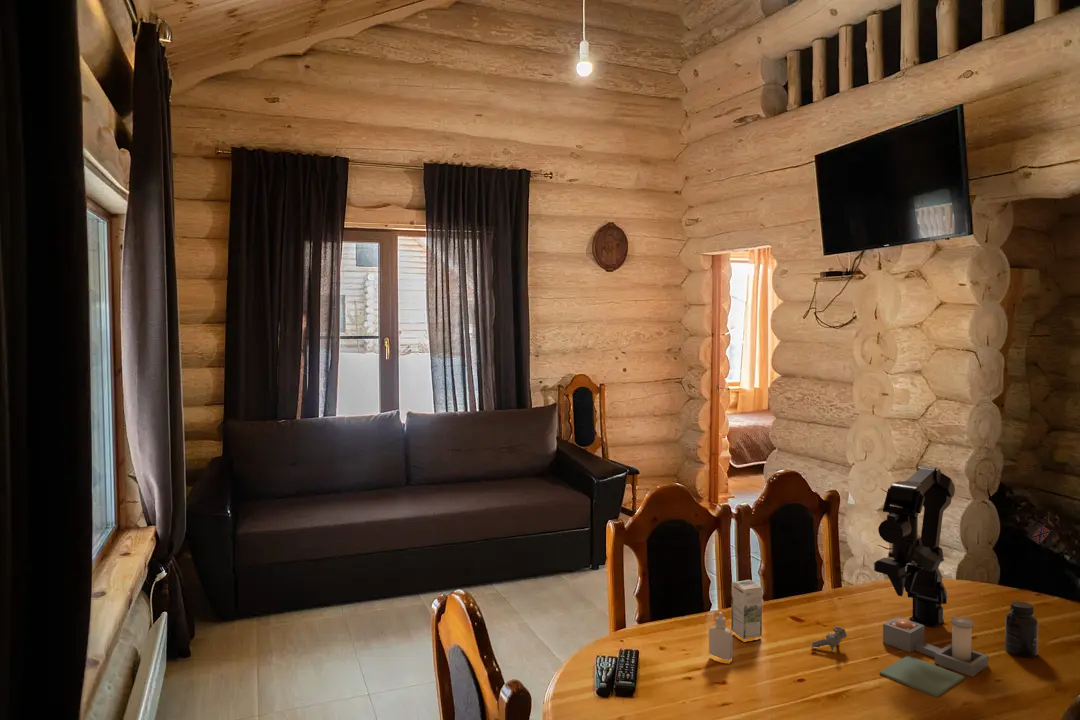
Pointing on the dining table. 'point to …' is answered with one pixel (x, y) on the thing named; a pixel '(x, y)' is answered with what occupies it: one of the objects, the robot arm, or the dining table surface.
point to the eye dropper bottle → (721, 639)
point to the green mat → (922, 675)
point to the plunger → (903, 624)
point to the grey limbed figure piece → (831, 638)
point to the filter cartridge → (961, 638)
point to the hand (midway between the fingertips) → (904, 594)
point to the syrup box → (746, 609)
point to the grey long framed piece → (931, 648)
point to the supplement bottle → (1021, 630)
